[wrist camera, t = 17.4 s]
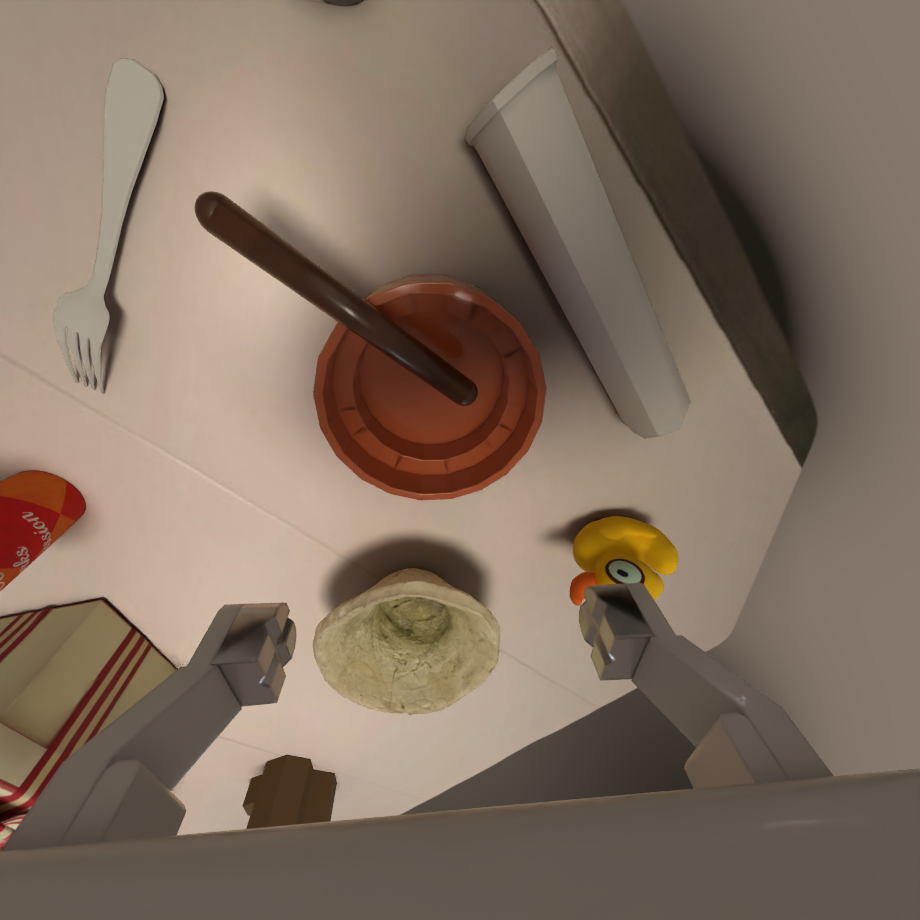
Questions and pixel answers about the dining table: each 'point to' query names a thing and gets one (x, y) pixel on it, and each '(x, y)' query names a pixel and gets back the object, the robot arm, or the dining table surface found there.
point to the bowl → (407, 644)
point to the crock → (343, 2)
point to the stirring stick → (328, 294)
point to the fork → (110, 208)
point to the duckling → (621, 555)
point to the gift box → (63, 692)
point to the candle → (289, 794)
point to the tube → (579, 243)
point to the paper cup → (33, 518)
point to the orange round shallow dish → (432, 393)
